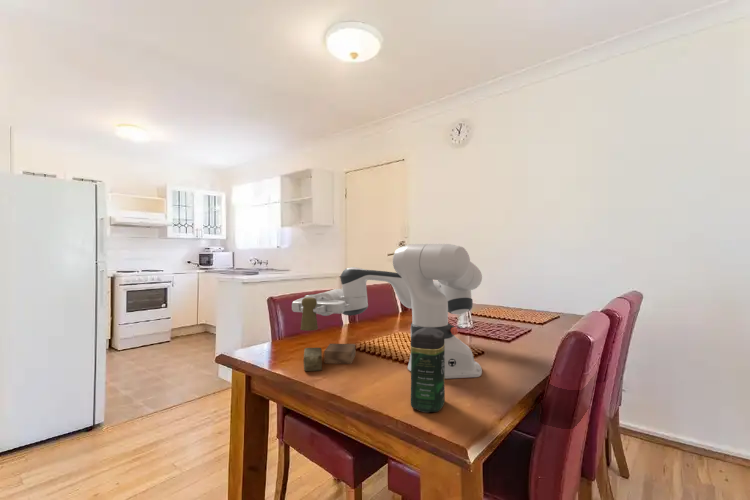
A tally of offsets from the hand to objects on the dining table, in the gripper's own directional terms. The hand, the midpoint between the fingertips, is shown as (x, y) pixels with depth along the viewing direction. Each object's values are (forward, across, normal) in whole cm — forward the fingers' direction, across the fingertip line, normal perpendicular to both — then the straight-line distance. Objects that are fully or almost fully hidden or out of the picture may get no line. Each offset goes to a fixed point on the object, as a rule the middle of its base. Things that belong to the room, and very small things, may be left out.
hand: (308, 310), depth 130 cm
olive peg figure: (0, 0, -7) cm, 7 cm away
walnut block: (-1, -11, -16) cm, 20 cm away
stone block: (+8, -6, -17) cm, 19 cm away
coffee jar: (+26, -46, -17) cm, 56 cm away
